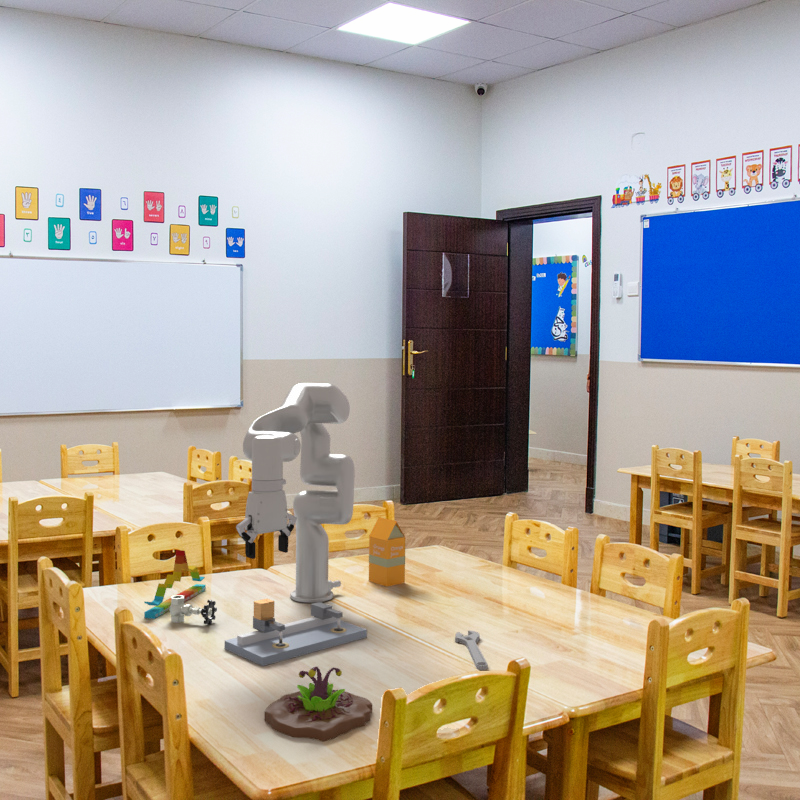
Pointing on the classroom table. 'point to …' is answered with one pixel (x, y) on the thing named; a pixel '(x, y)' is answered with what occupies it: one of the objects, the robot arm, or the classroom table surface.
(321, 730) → the plant
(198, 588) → the chart
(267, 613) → the divider leg
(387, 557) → the orange juice
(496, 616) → the classroom table surface
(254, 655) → the bolt hole plate
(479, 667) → the adjustable wrench
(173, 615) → the valve
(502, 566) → the classroom table surface
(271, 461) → the robot arm
